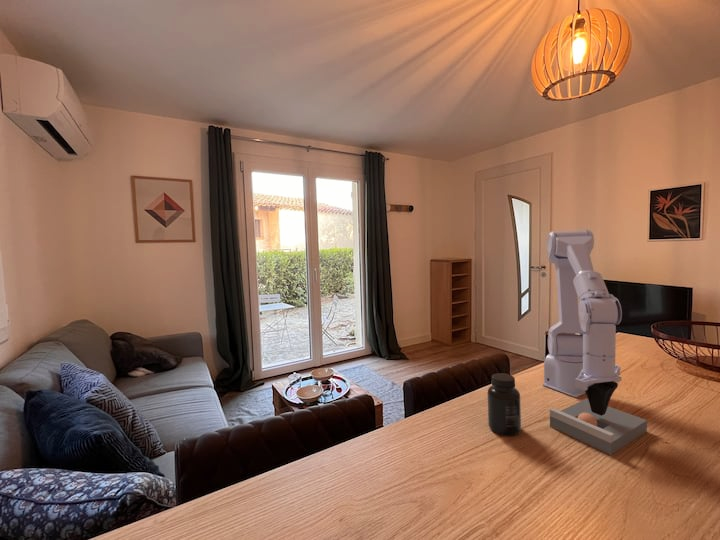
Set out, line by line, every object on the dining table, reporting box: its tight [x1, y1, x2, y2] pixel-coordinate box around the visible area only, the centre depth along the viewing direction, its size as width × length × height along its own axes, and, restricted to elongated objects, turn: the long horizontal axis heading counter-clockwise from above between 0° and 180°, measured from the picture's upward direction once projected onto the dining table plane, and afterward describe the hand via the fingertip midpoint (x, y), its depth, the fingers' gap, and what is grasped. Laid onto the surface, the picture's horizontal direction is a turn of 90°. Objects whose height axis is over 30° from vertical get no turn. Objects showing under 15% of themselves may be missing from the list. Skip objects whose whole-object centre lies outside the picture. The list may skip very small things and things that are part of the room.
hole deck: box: [549, 397, 648, 456], centre depth 72 cm, size 12×15×4 cm
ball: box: [578, 413, 597, 426], centre depth 70 cm, size 4×4×4 cm
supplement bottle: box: [487, 372, 522, 437], centre depth 74 cm, size 7×7×12 cm
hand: (598, 413), depth 72 cm, fingers closed
